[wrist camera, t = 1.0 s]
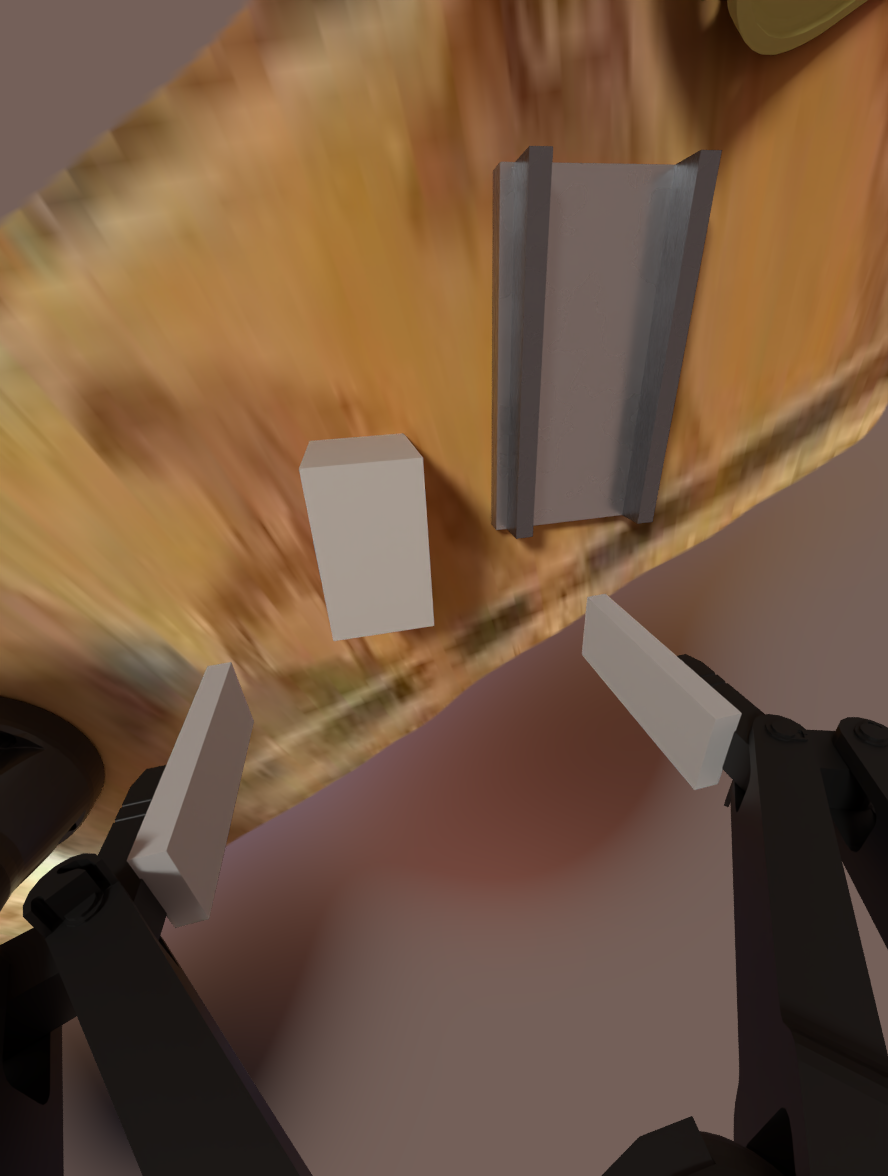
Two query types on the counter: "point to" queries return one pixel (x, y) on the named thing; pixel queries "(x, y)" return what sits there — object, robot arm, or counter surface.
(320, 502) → the block
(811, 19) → the plastic component
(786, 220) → the counter surface
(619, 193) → the grey channel bracket
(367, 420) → the counter surface
